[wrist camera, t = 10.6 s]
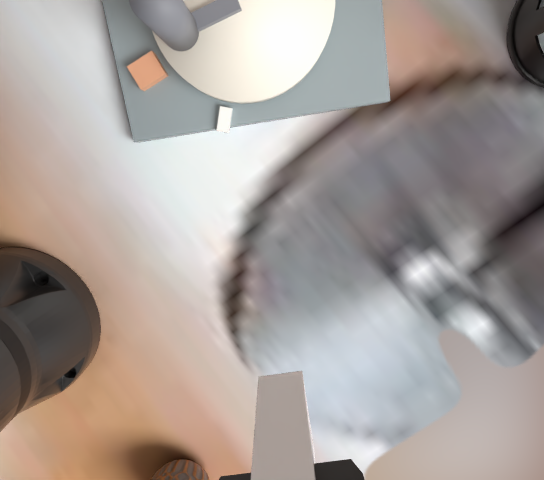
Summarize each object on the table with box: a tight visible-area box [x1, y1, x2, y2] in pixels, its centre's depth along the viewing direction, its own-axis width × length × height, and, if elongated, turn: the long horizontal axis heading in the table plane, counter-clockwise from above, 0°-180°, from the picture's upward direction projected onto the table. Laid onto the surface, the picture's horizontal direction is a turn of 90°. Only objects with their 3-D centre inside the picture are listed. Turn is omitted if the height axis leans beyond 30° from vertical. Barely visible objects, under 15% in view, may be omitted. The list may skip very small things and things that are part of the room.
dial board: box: [102, 0, 390, 142], centre depth 32 cm, size 22×18×2 cm
